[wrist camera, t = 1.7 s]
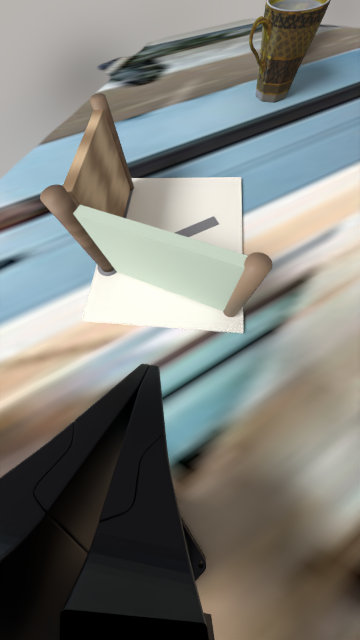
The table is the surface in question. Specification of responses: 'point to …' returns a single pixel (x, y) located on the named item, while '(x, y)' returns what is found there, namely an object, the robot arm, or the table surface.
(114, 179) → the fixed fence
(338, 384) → the table surface
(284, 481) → the table surface
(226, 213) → the card
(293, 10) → the ceramic cup
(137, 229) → the folding panel
